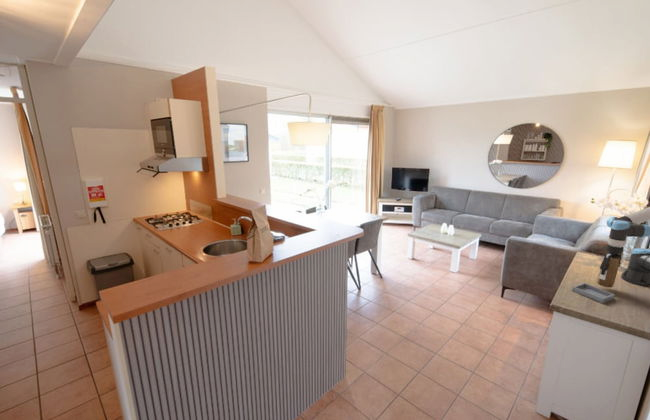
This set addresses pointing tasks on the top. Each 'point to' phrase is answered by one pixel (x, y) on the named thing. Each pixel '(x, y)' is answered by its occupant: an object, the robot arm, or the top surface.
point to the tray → (593, 293)
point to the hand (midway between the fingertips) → (607, 277)
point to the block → (610, 273)
